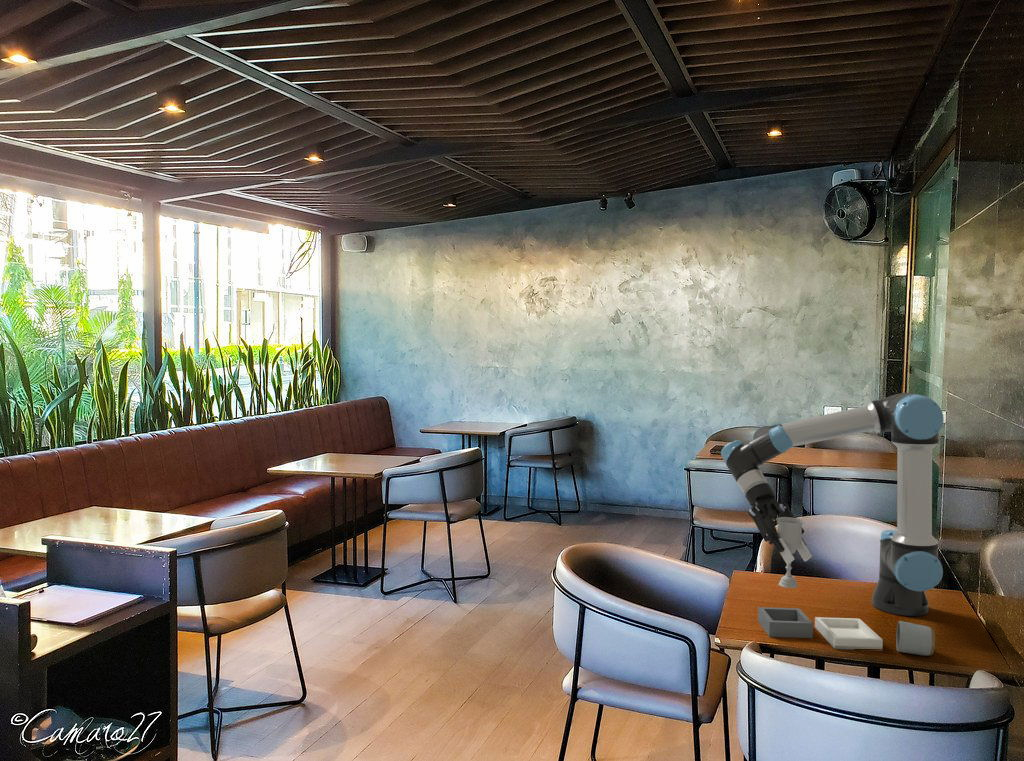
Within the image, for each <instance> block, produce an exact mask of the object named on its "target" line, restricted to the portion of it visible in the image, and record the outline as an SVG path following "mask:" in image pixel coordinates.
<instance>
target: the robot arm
mask: <svg viewBox="0 0 1024 761" xmlns="http://www.w3.org/2000/svg"><path fill="white" fill-rule="evenodd" d="M944 420H945V419H944V414H943V411H942V408H941V406H940V405H939V404H938V403H937V402H936V401H935V400H934V399H932V398H930V397H928V396H927V395H924V394H917V393H912V392H902V393H901V392H900V393H897V394H894V395H890V396H888V397H883V398H879V399H876V400H872V401H869V402H868V403H867V405H864V406H860V407H855V408H850V409H845V410H840V411H835V412H832V413H831V412H830V413H826V414H823V415H817V416H813V417H808V418H807V417H806V418H804V419H798V420H793V421H789V422H783V423H780V424H775V425H764V426H763V425H762V426H760V427H759V428H757V429H755V432H754V433H753V436H752V437H753V439H751V440H750V441H748V442H746V443H744V442H743V441H742V440H738V439H737V440H733V441H730V442H728V443H727V444H725V445H724V446H723V447H722V449H721V451H720V455H721V457H722V459H723V461H724V463H725V465H726V467H727V469H728V470H729V472H730V473H731V475H732V477H733V478H734V481H735V482H736V483H737V485H738V486H739V488H740V490H741V491H742V493H743V494H744V495H745V496H744V497H745V499H746V500H747V502H748V503H749V505H750V506H751V508H750V509H749V510H748V512H747V514H748V515H749V516H750V517H751V519H752V520H753V522H754V524H755V526H756V528H757V530H758V531H759V533H760V534H761V537H762V538H763V540H764V542H766V543H767V542H768V544H769V545H773V546H774V547H775V549H776V550H777V552H778V553H779V554H780V555H781V557H782V559H783V560H784V562H785V563H786V566H787V565H788V564H790V563H791V564H792V562H794V560H795V557H794V555H793V554H791V552H790V550H789V549H788V547H787V545H786V544H785V542H784V540H783V539H782V538H780V539H778V538H779V536H778V529H777V528H776V524H775V522H777V520H776V518H778V517H791V518H796V516H795V515H794V513H793V512H792V511H791V508H790V507H789V504H788V503H787V502H784V503H783V504H781V503H780V502H779V501H778V500H777V499H776V498H775V497H776V496H775V492H774V490H773V488H772V487H771V485H770V484H769V483H768V480H767V479H766V477H765V476H764V474H763V472H762V470H761V469H760V468H759V467H760V466H762V465H764V464H765V463H767V462H769V461H771V460H772V459H774V458H776V457H778V456H781V455H782V454H785V453H786V452H787V451H789V450H790V449H791V448H793V447H798V446H802V445H808V444H811V443H813V444H814V443H817V442H822V441H823V442H824V441H828V440H833V439H838V438H842V437H848V436H854V435H858V434H863V433H868V432H872V431H873V432H875V433H878V434H881V433H886V432H891V433H890V434H891V437H890V438H891V444H893V445H894V446H895V448H896V449H897V466H896V468H897V473H896V474H897V477H896V478H897V482H896V483H897V485H896V486H897V487H896V488H897V490H896V492H897V494H896V495H897V500H896V501H897V507H896V508H897V509H896V512H897V513H896V514H897V515H896V518H897V521H896V526H897V529H885V530H883V531H881V533H880V538H879V542H880V545H879V572H878V573H879V574H878V581H877V583H876V585H875V588H874V589H873V593H872V596H871V605H872V606H873V607H874V608H876V609H878V610H880V611H883V612H885V613H889V614H893V615H898V616H904V617H905V616H908V617H918V616H919V617H920V616H925V615H928V614H929V601H928V597H927V594H926V592H928V591H929V590H932V589H934V588H935V587H936V586H937V585H939V584H940V582H941V580H942V578H943V575H944V570H943V565H942V563H941V561H940V560H939V541H938V539H936V538H935V536H933V529H932V528H933V521H932V520H933V515H932V514H933V489H932V488H933V449H935V447H937V446H938V445H939V432H940V431H941V430H942V428H943V425H944ZM803 534H805V530H804V528H803V527H802V535H803ZM796 551H797V552H798V553H799V555H800V557H801V559H803V561H804V562H805V563H806V562H808V560H810V559H811V558H812V557H813V555H812V553H811V551H810V550H809V549H808V547H807V544H806V542H805V541H804V538H803V537H802V538H801V541H800V544H799V546H798V548H797V550H796Z"/></svg>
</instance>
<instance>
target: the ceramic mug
mask: <svg viewBox="0 0 1024 761" xmlns="http://www.w3.org/2000/svg"><path fill="white" fill-rule="evenodd" d="M935 636H936V635H935V631H934V629H933V628H932V627H929V626H926V625H922V624H917V623H913V622H908V621H902V620H899V621H898V622H897V626H896V640H895V643H896V646H895V647H896V651H897V652H898V653H903V654H904V653H905V654H909V655H910V654H912V655H919V656H924V657H925V656H926V657H927V656H928V657H929V656H932V655H934V651H935V642H936V637H935Z"/></svg>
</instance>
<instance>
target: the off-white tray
mask: <svg viewBox="0 0 1024 761" xmlns="http://www.w3.org/2000/svg"><path fill="white" fill-rule="evenodd" d="M814 628H815V629H816V630H817V632H819V633H820V634H821V636H822V637H823V638H824V639H825V640H826V641H827V643H828V644H830V645H831V647H833V648H834V650H854V649H882V650H883V645H884V644H883V643H884V640H883V638H882V637H880V636H879V635H878V634H877V633H876V632H875V631H874V630H873V629H871V627H869V625H868V624H866V623H865V622H864V621H863V620H862V619H860V618H856V617H855V618H852V617H851V618H850V617H847V618H845V617H821V616H818V617H817V616H815V617H814Z"/></svg>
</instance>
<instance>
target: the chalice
mask: <svg viewBox="0 0 1024 761" xmlns="http://www.w3.org/2000/svg"><path fill="white" fill-rule="evenodd" d="M777 517H778V516H777ZM776 520H777V521H776V522H777V533H778V536H779V538H778V539H780V538H782V539H783V540H784V542H785V544H786V545H787V547H788V549H789V550H790V552H791V554H792V555H793V554H795V553H796V551H798V550H797V548H798V546H799V544H800V541H801V538H802V539H803V534H802V528H803V524H804V522H805V520H803V519H800V518H797V517H795V518H791V517H778V518H776ZM785 569H786V573H785V575H783V576H781V579H780V580H779V583H778V586H780V587H783V588H786V589H787V588H788V589H797V588H798V587H799V585H798V582H797V581H796V578H795V576H793V575H792V574H791V570H792V569H793V567H792V562H791V563H790V564H788V565H787V564H786V566H785Z"/></svg>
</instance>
